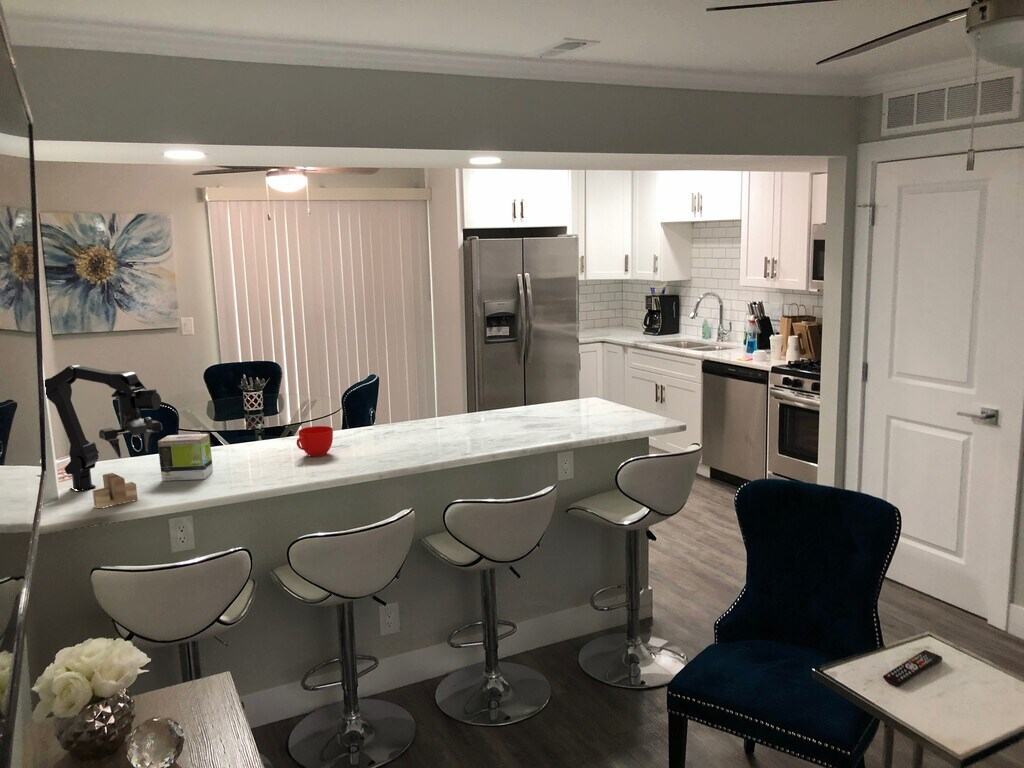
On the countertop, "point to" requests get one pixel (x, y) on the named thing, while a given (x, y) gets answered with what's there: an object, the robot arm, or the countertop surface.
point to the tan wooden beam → (115, 486)
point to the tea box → (185, 457)
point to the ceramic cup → (315, 440)
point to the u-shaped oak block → (104, 499)
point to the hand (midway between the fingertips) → (133, 454)
